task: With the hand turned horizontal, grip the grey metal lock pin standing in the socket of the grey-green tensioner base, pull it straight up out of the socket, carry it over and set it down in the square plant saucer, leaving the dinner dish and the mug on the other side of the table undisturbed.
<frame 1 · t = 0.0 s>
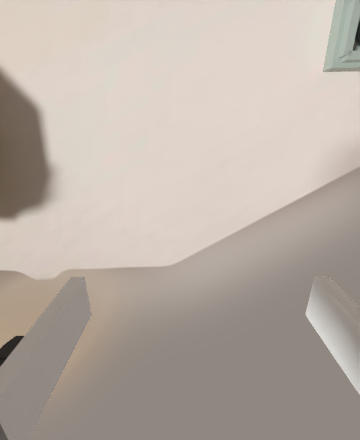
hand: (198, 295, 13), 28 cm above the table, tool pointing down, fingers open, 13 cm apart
tensioner base: (358, 37, 31), on the table
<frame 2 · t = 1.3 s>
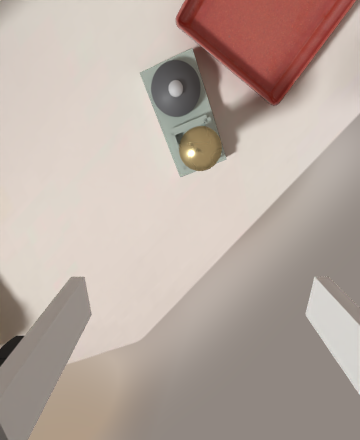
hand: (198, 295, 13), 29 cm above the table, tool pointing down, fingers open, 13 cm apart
lock pin: (194, 144, 35), point 2 cm above the table, touching tensioner base
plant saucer: (262, 12, 32), on the table
tensioner base: (194, 144, 37), on the table
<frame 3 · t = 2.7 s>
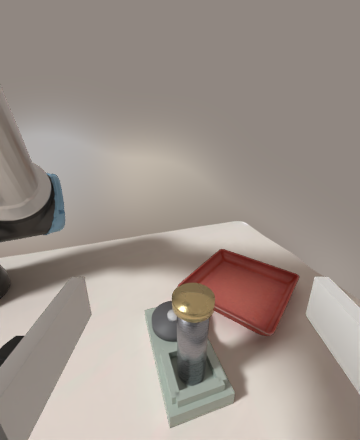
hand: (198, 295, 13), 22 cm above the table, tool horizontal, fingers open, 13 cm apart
lock pin: (191, 370, 29), point 2 cm above the table, touching tensioner base
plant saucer: (238, 294, 45), on the table
tensioner base: (191, 380, 30), on the table
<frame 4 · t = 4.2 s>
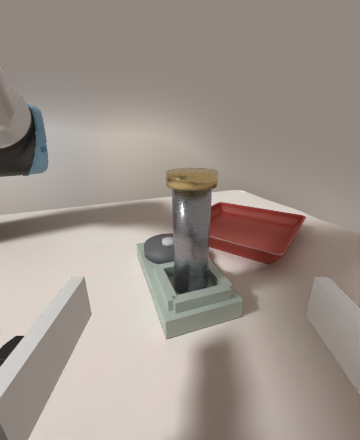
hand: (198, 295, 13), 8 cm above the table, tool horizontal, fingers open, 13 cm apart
lock pin: (190, 285, 24), point 2 cm above the table, touching tensioner base
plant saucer: (240, 237, 41), on the table
tensioner base: (190, 300, 25), on the table
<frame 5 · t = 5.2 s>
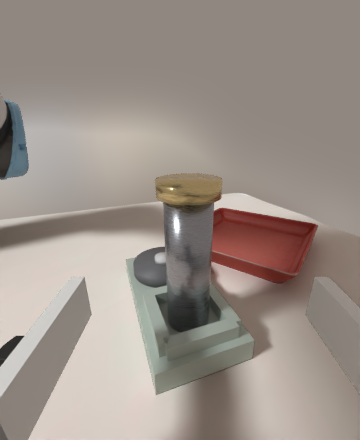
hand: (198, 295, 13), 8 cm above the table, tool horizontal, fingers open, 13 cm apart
lock pin: (188, 317, 20), point 2 cm above the table, touching tensioner base
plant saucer: (244, 249, 37), on the table
tensioner base: (188, 334, 21), on the table
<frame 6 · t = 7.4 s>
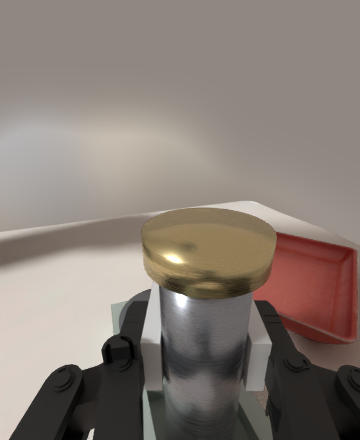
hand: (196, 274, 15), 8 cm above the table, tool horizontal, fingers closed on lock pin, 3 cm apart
lock pin: (199, 433, 12), point 2 cm above the table, touching gripper, tensioner base
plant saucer: (264, 280, 29), on the table
when the fingers open (9 cm above the table, at t = 12.6 s): lock pin stays where it is, resting on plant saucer.
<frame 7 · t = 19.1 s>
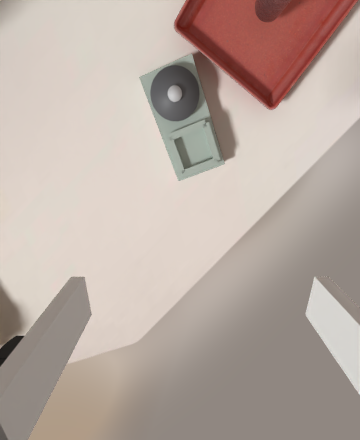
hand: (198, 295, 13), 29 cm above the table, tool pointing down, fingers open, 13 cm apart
lock pin: (269, 4, 29), point 3 cm above the table, touching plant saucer
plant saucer: (260, 17, 32), on the table, touching lock pin
tensioner base: (192, 148, 38), on the table
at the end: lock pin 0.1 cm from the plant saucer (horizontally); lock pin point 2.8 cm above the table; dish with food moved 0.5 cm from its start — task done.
